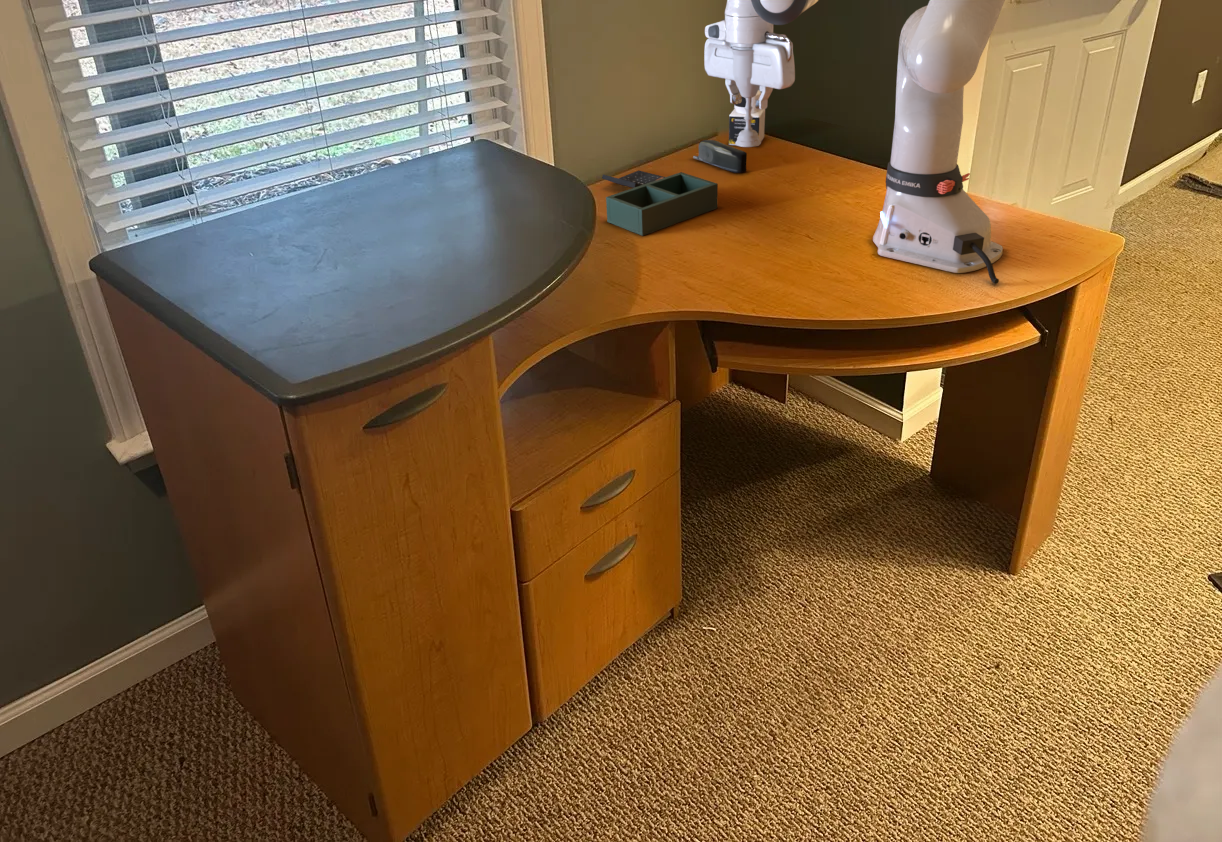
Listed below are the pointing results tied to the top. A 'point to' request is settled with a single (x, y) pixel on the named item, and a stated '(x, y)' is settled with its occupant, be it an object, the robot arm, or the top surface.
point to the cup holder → (661, 203)
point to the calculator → (634, 179)
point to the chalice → (745, 94)
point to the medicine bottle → (738, 121)
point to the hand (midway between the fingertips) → (748, 105)
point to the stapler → (722, 156)
